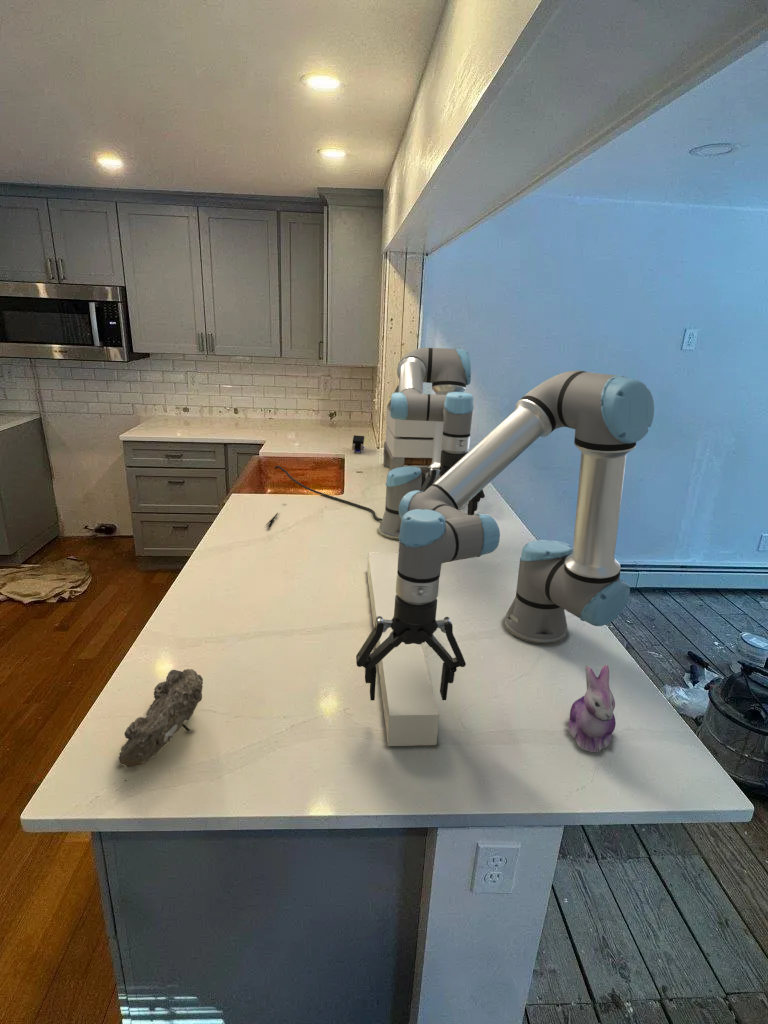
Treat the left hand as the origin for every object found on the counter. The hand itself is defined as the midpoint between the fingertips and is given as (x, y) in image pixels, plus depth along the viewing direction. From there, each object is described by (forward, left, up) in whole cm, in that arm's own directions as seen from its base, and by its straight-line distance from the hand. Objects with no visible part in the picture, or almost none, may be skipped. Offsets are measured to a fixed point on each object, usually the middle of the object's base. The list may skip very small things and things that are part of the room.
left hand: (448, 523), depth 162 cm
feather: (-73, -14, -18) cm, 76 cm away
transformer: (-87, +74, -18) cm, 115 cm away
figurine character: (-137, +75, -18) cm, 157 cm away
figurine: (+63, -26, -18) cm, 70 cm away
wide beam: (+15, -33, -18) cm, 40 cm away
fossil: (+13, -87, -18) cm, 89 cm away
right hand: (+38, -50, -12) cm, 64 cm away
